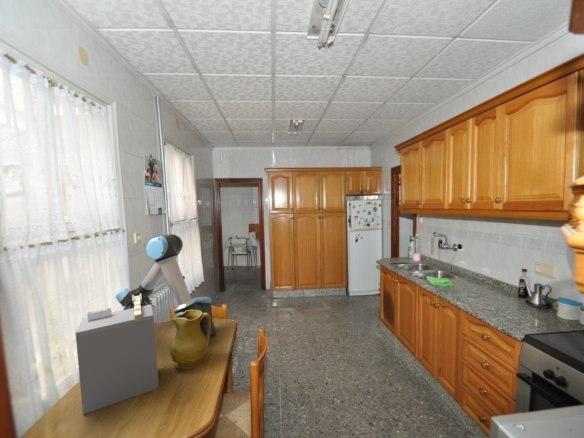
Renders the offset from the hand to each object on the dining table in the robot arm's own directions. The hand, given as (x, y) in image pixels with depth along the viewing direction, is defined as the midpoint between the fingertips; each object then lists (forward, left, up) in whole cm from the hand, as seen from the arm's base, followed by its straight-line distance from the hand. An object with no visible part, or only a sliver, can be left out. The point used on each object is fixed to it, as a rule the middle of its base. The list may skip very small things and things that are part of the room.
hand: (136, 297), depth 126 cm
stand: (-4, +13, -36) cm, 38 cm away
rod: (-6, +5, -4) cm, 8 cm away
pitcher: (-20, -11, -36) cm, 43 cm away
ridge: (+3, +15, -4) cm, 16 cm away
